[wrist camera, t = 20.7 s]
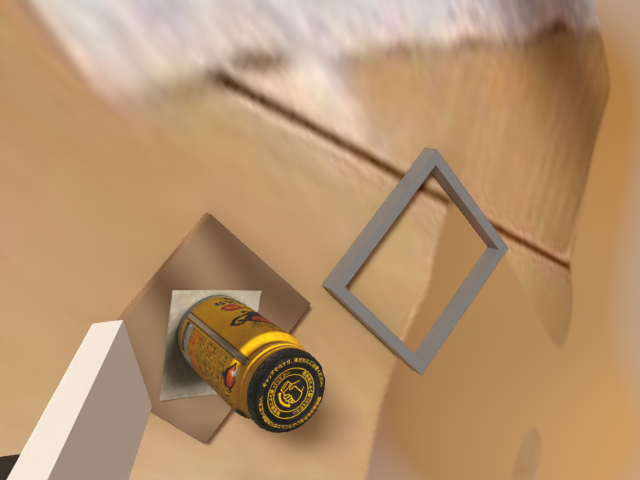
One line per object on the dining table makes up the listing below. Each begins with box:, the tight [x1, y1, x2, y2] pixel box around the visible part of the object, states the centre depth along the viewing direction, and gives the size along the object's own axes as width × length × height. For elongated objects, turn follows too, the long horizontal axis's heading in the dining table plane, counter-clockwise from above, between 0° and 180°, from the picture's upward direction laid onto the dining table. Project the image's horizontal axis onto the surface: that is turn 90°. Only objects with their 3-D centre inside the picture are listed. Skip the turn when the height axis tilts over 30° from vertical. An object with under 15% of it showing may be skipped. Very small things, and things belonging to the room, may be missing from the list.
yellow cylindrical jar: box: [160, 290, 325, 433], centre depth 41 cm, size 7×8×12 cm
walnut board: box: [117, 213, 310, 444], centre depth 46 cm, size 14×12×1 cm
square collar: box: [322, 148, 508, 375], centre depth 57 cm, size 16×15×2 cm
